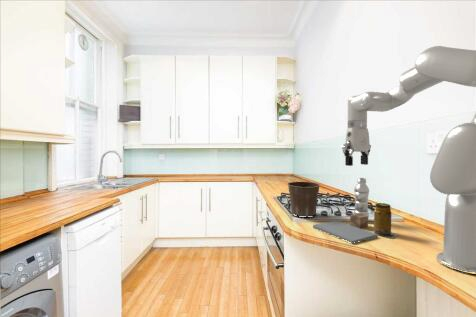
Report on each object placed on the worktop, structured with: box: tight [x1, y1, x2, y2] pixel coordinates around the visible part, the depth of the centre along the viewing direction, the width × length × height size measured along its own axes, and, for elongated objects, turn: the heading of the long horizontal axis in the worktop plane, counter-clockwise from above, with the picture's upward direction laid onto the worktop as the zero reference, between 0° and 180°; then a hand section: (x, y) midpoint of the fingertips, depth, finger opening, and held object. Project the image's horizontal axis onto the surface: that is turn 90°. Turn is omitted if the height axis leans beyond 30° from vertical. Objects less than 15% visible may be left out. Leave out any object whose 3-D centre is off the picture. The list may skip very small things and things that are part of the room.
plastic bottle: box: [353, 177, 370, 219], centre depth 117 cm, size 6×7×20 cm
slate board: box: [312, 220, 378, 243], centre depth 103 cm, size 20×14×1 cm
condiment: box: [371, 202, 400, 239], centre depth 100 cm, size 7×8×12 cm
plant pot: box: [286, 181, 321, 217], centre depth 127 cm, size 16×16×16 cm
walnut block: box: [349, 213, 369, 229], centre depth 110 cm, size 5×5×5 cm
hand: (356, 165), depth 108 cm, fingers open, 9 cm apart
